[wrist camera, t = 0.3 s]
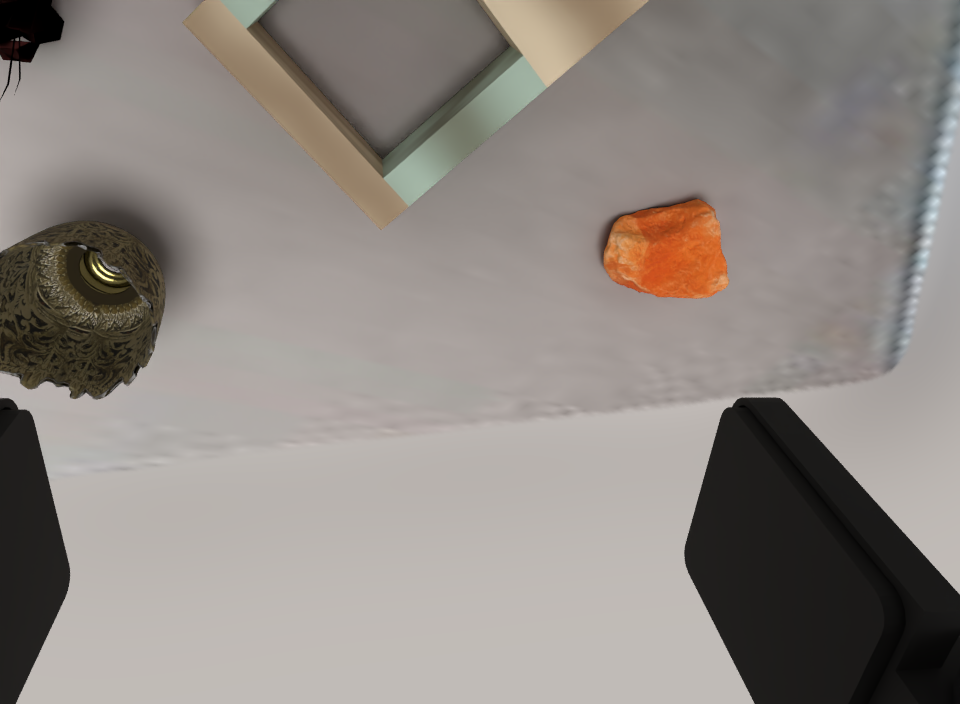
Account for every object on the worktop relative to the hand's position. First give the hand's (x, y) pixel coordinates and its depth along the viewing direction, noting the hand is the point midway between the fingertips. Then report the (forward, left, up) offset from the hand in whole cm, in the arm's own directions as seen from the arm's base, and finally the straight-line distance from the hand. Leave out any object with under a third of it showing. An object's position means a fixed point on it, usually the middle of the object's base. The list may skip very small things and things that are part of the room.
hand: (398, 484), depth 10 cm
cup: (+16, -3, -30) cm, 34 cm away
